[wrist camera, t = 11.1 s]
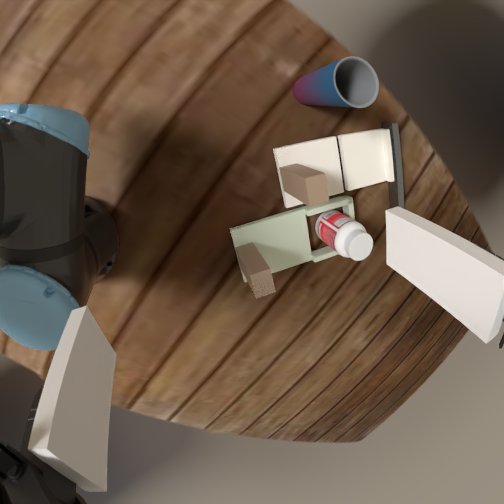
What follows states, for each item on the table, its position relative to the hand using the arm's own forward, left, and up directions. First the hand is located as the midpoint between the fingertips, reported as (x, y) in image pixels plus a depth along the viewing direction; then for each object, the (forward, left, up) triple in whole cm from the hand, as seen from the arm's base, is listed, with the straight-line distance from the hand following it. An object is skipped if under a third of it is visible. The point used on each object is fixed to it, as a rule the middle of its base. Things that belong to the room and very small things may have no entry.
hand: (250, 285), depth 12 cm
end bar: (+36, -11, -37) cm, 53 cm away
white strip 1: (+18, -6, -37) cm, 41 cm away
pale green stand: (+14, -17, -37) cm, 43 cm away
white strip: (+30, -6, -37) cm, 48 cm away
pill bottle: (+21, -17, -37) cm, 46 cm away
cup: (+21, +8, -37) cm, 43 cm away
